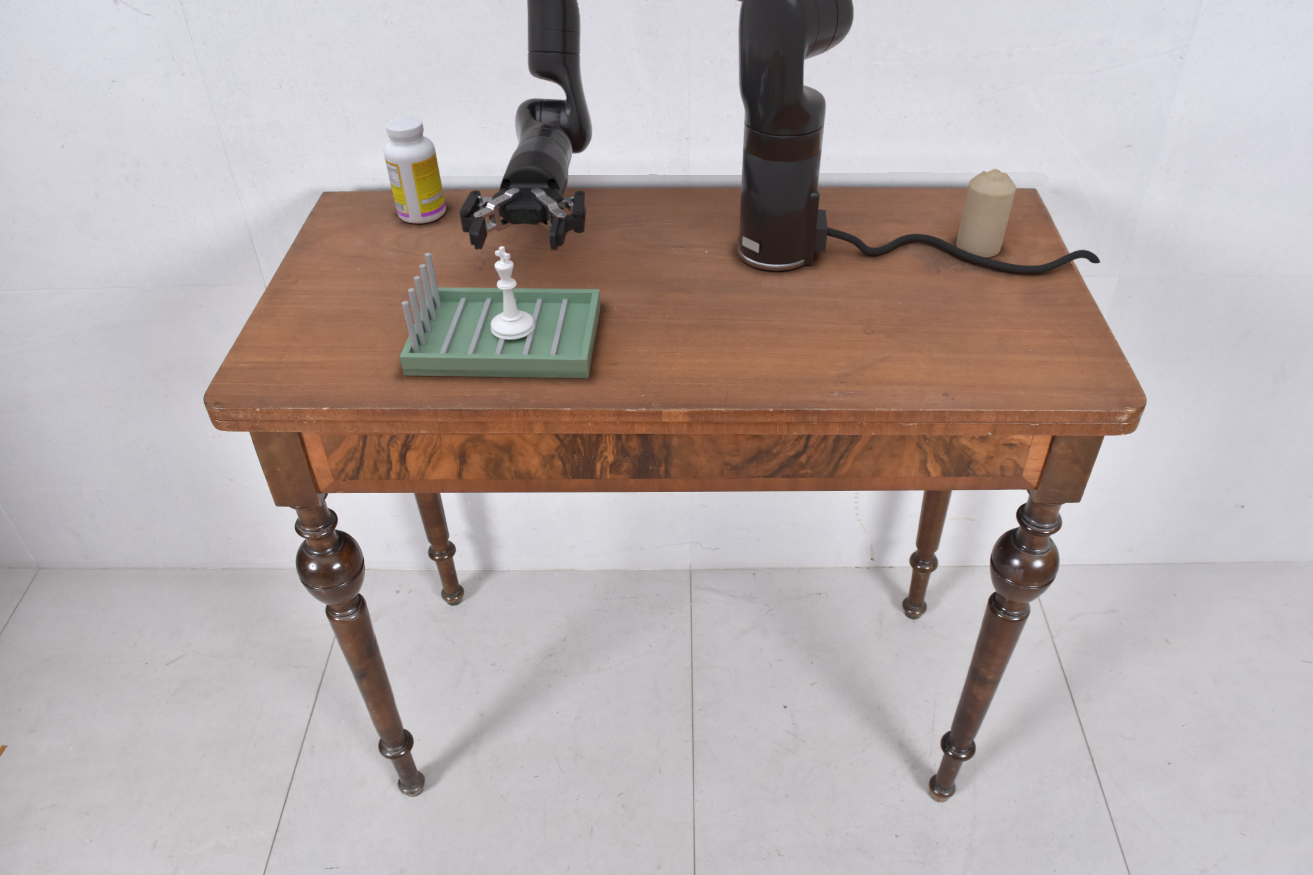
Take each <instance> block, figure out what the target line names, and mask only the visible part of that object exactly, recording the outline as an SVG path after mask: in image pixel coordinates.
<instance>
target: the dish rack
mask: <svg viewBox="0 0 1313 875" xmlns="http://www.w3.org/2000/svg"><path fill="white" fill-rule="evenodd" d="M424 258H425V263H426V264H425V263H421V264H419V266H418V267H419V272H420V275H415V276H414V277H413V281H414V287H415V288H414V287H410V288H408V289H407V293H408V298H409V301H408V300H404V301H402V302H401V307H402V311H403V315H404V320H405V324H406V328H407V332H408V336H407V339H406V341H405V344H404V346H403V348H402V350H401V353H400V355H399V361H400V366H401V368H402V372H403V373H402V374H403V376H417V377H418V376H419V377H426V376H427V377H473V378H475V377H478V378H479V377H480V378H481V377H484V378H535V379H536V378H541V379H542V378H544V379H546V378H547V379H589V377H590V372H591V365H592V360H593V354H594V350H595V343H596V339H597V338H596V337H597V331H598V327H599V320H600V316H601V315H600V314H601V309H602V303H601V290H600V288H536V287H535V288H531V287H529V288H528V287H527V288H525V287H520V288H519V287H514V288H512V291H513V295H514V298H515V302H516V305H517V309H518V310H519V311H524V312H527V313H529V314H530V315H531V316H532V317H533V319H534V323H535V328H534V330H533V331H532V332H531V333H530V334H529V335H527V336H525V337H522V338H519V339H512V340H507V339H501V338H498V337H496V336H495V335H493V334H492V332H491V321H492V319H493V318H494V317H495V316H497V315H498V314H500V313H502V312H503V290H502V289H499V288H498V287H445V286H443V287H442V286H441V287H438V282H437V277H436V272H435V267H434V262H433V256H432V253H431V252H425V253H424ZM409 302H410V303H409ZM410 307H411V308H410ZM411 311H412V312H411Z"/></svg>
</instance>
